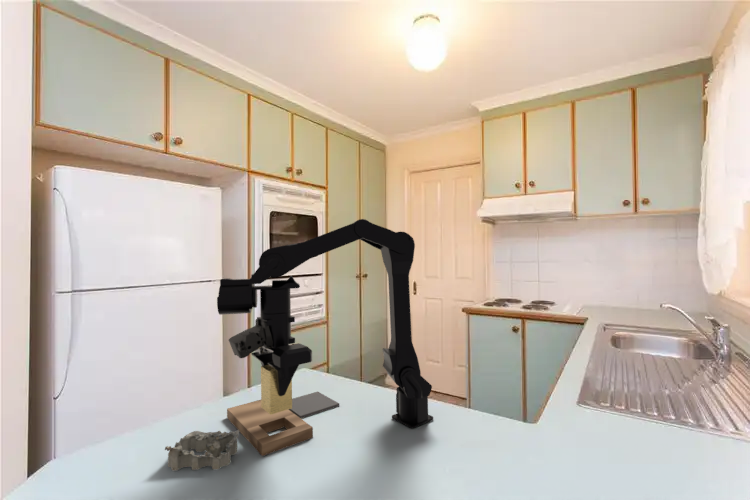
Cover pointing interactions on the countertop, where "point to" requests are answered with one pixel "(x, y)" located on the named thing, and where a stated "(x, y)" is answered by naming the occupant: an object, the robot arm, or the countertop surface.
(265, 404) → the brass plug
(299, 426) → the walnut board
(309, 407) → the rubber mat
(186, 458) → the egg carton
